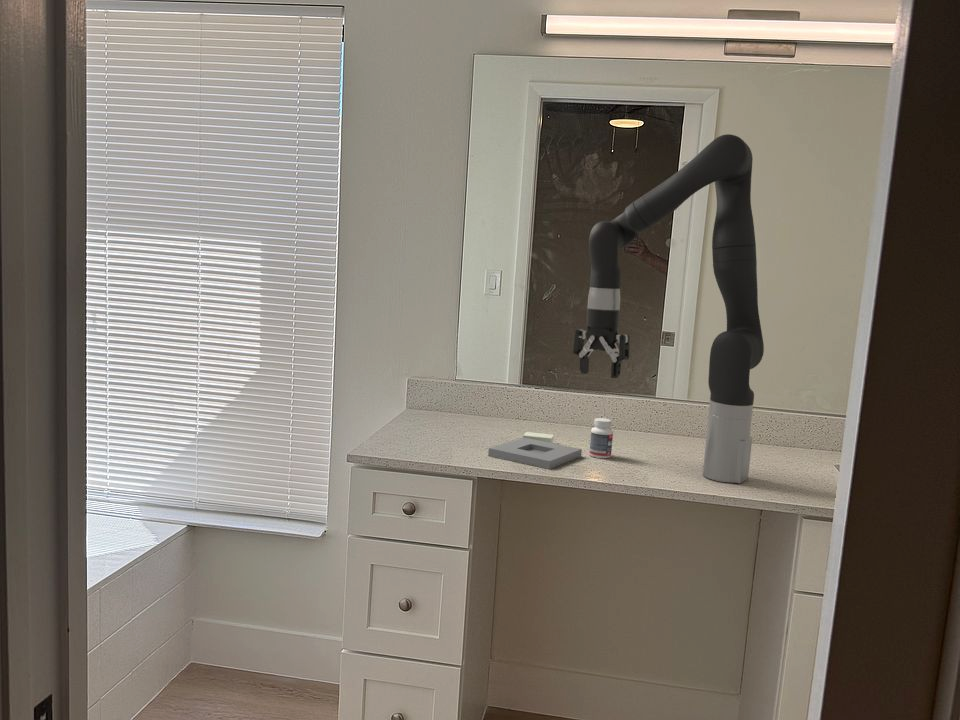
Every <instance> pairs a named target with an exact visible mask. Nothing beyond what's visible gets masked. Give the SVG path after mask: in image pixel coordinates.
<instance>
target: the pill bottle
mask: <svg viewBox="0 0 960 720" xmlns="http://www.w3.org/2000/svg"><path fill="white" fill-rule="evenodd" d="M593 424H594V427H592V428H591V431H590V440H589V441H590V442H589V452H588V454H589V456H590V457H592V458H597V459H609V458H611V457H612V451H613V450H612V447H613V437H614V431H613V429H611V427H612V420H611V419H608V418H605V417H596V418H594V423H593Z"/></svg>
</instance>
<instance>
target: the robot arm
mask: <svg viewBox="0 0 960 720" xmlns="http://www.w3.org/2000/svg"><path fill="white" fill-rule="evenodd" d="M753 162H754V161H753V152H752V149H751V148H750V147H749V145H748V144H747V142H745V141H744V139H742V138H741V137H739V136H737V135H736V134H730V133H729V134H728V133H727V134H726V133H725V134H723V135H719V136H718V137H715V139H713V140H712V141H711V142H709V144H707V145H706V146H705V147H703V149H702V150H701V151H700V152H699V153H698V154H697V155H695V156H694V157H693V158H692V159H691V160H690V161H689V162H687V164H685V165H684V166H683V167H681V168H680V169H679V170H678V171H676V172H674V174H672V175H671V176H670V177H668V178H667V179H665V180H664V181H662V182H661V183H660V184H658V185H657V186H655V187H654V188H652V189H651V190H649V191H647V192H646V193H644V194H643V195H642V196H641V197H638V198H637V199H635V200H633V202H631V203H630V204H629V205H627V206H626V207H625V209H624V211H623V212H622V213H621V214H619V215H618V216H616V217H615V218H613V219H612V220H610V221H609V220H603V221H599V222H597V223H596V224H594V226H593V227H592V229H591V230H590V234H589V236H588V237H589V238H588V249H589V251H588V253H589V261H590V266H591V267H590V268H591V270H590V280H589V291H588V296H587V297H588V298H587V307H586V308H587V310H586V312H587V313H586V327H587V329H586V330H585V329H576V330H575V332H574V341H573V349H572V353H573V354H574V355H576V356H578V357H579V372H580V374H582V375H586V374H588V373H589V368H590V367H589V366H590V365H589V364H590V358H589V356H590V355H591V354H592V352H594V351H602V352H606V354H607V355H609V356H610V359H611V361H612V362H611V367H610V379H618V378H619V376H621V369H622V368H621V367H622V363H623V362H624V361H628V360H629V359H630V334H619V333H618V328H619V326H620V323H619V322H620V310H621V282H622V281H621V278H622V276H621V275H622V271H621V266H620V264H619V263H618V255H619V254H618V253H619V252H618V251H620V250H621V249H623V248H625V247H626V246H628V245H629V244H630V243H631V242H632V241H633V240H635V239H636V238H638V236H640V235H641V234H642V233H644V232H646V231H647V230H648V229H650V228H652V227H653V226H655V225H657V224H658V223H659V222H661V221H662V220H664V219H666V218H667V217H668V216H670V215H671V214H672V213H673V212H675V211H676V210H677V209H678V208H679V207H680V206H682V205H683V203H684V202H686V200H688V199H689V198H690V197H691V196H693V195H695V193H697V192H699V191H700V190H702V189H703V188H704V187H707V186H708V185H710V184H712V183H714V185H715V186H714V187H715V195H716V196H715V197H716V211H715V219H714V223H713V231H712V238H711V239H712V241H711V249H712V250H711V252H712V253H711V254H712V268H713V274H714V278H715V281H716V284H717V287H718V288H719V293H720V294H721V297H722V299H723V303H724V306H725V313H726V314H725V315H726V330H725V331H722V332H721V333H719V334H718V335H717V336H715V338H714V339H713V341H712V344H711V346H710V347H711V348H710V352H709V353H710V354H709V361H708V362H709V363H708V365H709V366H708V382H707V383H708V388H709V391H710V397H709V405H708V406H709V409H708V416H707V425H706V426H707V428H706V435H705V436H706V438H705V448H704V457H703V464H702V476H703V477H704V478H707V479H709V480H713V481H717V482H723V483H734V484H735V483H736V484H742V483H744V482H745V481H747V480H748V479H749V473H750V464H751V453H752V444H753V436H751V429H752V420H753V410H754V409H753V408H754V401H755V393H754V391H753V390H752V388H751V387H750V374H751V370H753V369H755V368H757V366H758V365H759V364H760V363H761V361H762V360H763V357H764V353H765V352H764V351H765V346H764V344H765V343H764V337H763V332H762V326H761V325H762V324H761V320H760V311H759V303H758V301H759V299H758V298H759V297H758V296H759V295H758V294H759V292H758V290H759V289H758V274H757V271H758V269H757V267H758V265H757V261H758V260H757V246H756V245H757V244H756V234H755V225H754V224H755V223H754V217H753V210H752V203H751V202H752V200H751V197H752V196H751V195H752V194H751V192H752V173H753ZM585 339H586V340H587V341H586V342H585ZM616 342H617V343H618V344H619V345H618V346H619V347H618V346H617V344H616ZM584 343H585V344H584Z"/></svg>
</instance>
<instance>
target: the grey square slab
mask: <svg viewBox="0 0 960 720" xmlns="http://www.w3.org/2000/svg"><path fill="white" fill-rule="evenodd" d="M582 452H583V449H582V448H579V447H578V448H577V447H573V446H569V445H568V446H567V445H565V444H564V445H563V444H557V443H554V442H553V443H549V442H544V441H539V440H534V439H529V438H524V437H520V438H517V439H514V440H511V441H508V442H504V443H501V444H497V445H495V446H492V447H488V454H487V455H488V457H492V458H497V459H502V460H507V461H511V462H515V463H519V464H524V465H530V466H534V467H539V468H542V469H547V470H551V469H552V468H555V467H558V466H560V465H563V464H565V463H568V462H571V461H573V460H576V459H579V458H582Z"/></svg>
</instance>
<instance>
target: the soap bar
mask: <svg viewBox="0 0 960 720" xmlns="http://www.w3.org/2000/svg"><path fill="white" fill-rule="evenodd" d="M522 436H523V437H524V438H529V439H534V440H539V441H544V442H549V443H554V434H550V433H540V432H531V431H526V432H525V433H524V434H523V435H522ZM523 437H522V438H523Z"/></svg>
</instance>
